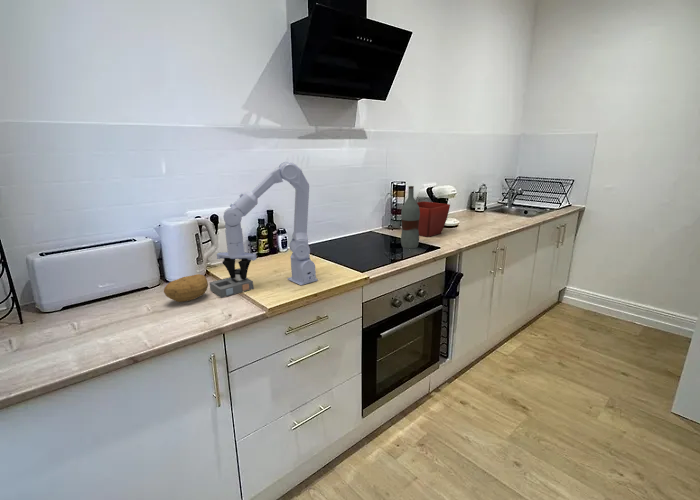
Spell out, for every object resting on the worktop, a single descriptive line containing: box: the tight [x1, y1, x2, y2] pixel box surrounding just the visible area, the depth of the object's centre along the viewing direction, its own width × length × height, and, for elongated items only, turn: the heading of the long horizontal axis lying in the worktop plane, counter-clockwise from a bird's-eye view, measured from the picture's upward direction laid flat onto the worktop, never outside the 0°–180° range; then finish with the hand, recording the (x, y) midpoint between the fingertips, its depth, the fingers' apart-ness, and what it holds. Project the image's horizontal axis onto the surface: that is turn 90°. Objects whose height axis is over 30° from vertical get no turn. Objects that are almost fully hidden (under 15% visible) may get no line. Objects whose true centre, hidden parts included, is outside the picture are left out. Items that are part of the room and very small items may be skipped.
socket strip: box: [208, 276, 254, 299], centre depth 134 cm, size 10×12×3 cm
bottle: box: [400, 185, 420, 250], centre depth 184 cm, size 9×9×30 cm
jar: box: [234, 267, 244, 283], centre depth 136 cm, size 3×3×7 cm
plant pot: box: [416, 201, 451, 238], centre depth 212 cm, size 19×19×17 cm
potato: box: [163, 273, 209, 303], centre depth 125 cm, size 10×14×8 cm
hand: (238, 278), depth 136 cm, fingers open, 4 cm apart
